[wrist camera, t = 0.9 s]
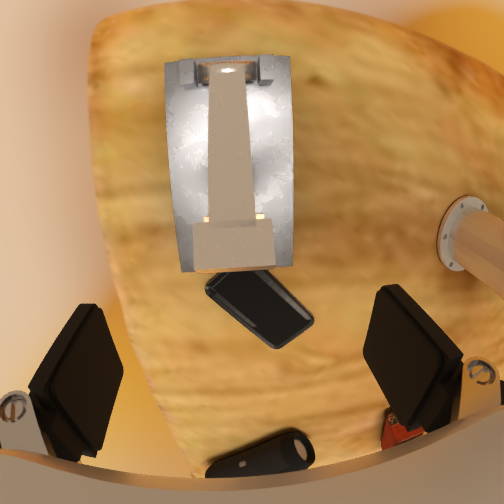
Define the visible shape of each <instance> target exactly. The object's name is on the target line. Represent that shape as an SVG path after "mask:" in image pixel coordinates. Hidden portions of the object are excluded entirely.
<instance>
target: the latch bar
mask: <svg viewBox="0 0 504 504" xmlns="http://www.w3.org/2000/svg"><path fill="white" fill-rule="evenodd" d="M198 80H199V84H203V83H209V108H208V218H209V222H199V223H193V254H194V270H195V271H196V272H197V273H217V272H235V271H252V270H268V269H274V267H275V266H276V261H275V249H274V237H273V226H272V218H269V219H256V211H255V198H254V185H253V172H252V159H251V146H250V133H249V120H248V108H247V96H246V83H245V81H256V62H255V61H225V62H211V63H199V64H198Z"/></svg>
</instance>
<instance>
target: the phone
mask: <svg viewBox="0 0 504 504" xmlns="http://www.w3.org/2000/svg"><path fill="white" fill-rule="evenodd" d="M205 292H206V294H207V295H208V296H209V297H210V298H211V299H212V300H214V301H215V302H216V303H217V304H218V305H219V306H221V307H222V308H223V309H224V310H225V311H227V312H228V313H229V314H230V315H231V316H233V317H234V318H235V319H236V320H237V321H239V322H240V323H241V324H242V325H244V326H245V327H246V328H247V329H248V330H250V331H251V332H252V333H253V334H255V335H256V336H257V337H258V338H260V339H261V340H262V341H263V342H265V343H266V344H267V345H268V346H270V347H271V348H273V349H280V348H282V347H283V346H285V345H286V344H287V343H289V342H290V341H292V340H293V339H294V338H296V337H297V336H299V335H300V334H301V333H303V332H304V331H305V330H307V329H308V328H309V327H311V326H312V325H313V324H314V317H313V315H312V314H311V313H310V312H309V311H308V310H307V309H306V308H305V307H304V306H303V305H302V304H301V303H300V302H299V301H298V300H297V299H296V298H295V297H294V296H293V295H292V294H291V293H290V292H289V291H288V290H287V289H286V288H285V287H284V286H283V285H282V284H281V283H280V282H279V281H278V280H277V279H276V278H275V277H274V276H273V275H272V274H271V273H270V272H269V271H268V270H252V271H235V272H219V273H217V274H216V275H215V276H214V277H213V278H212V279H211V280H209V281H208V282H207V284H206V287H205Z"/></svg>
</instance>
